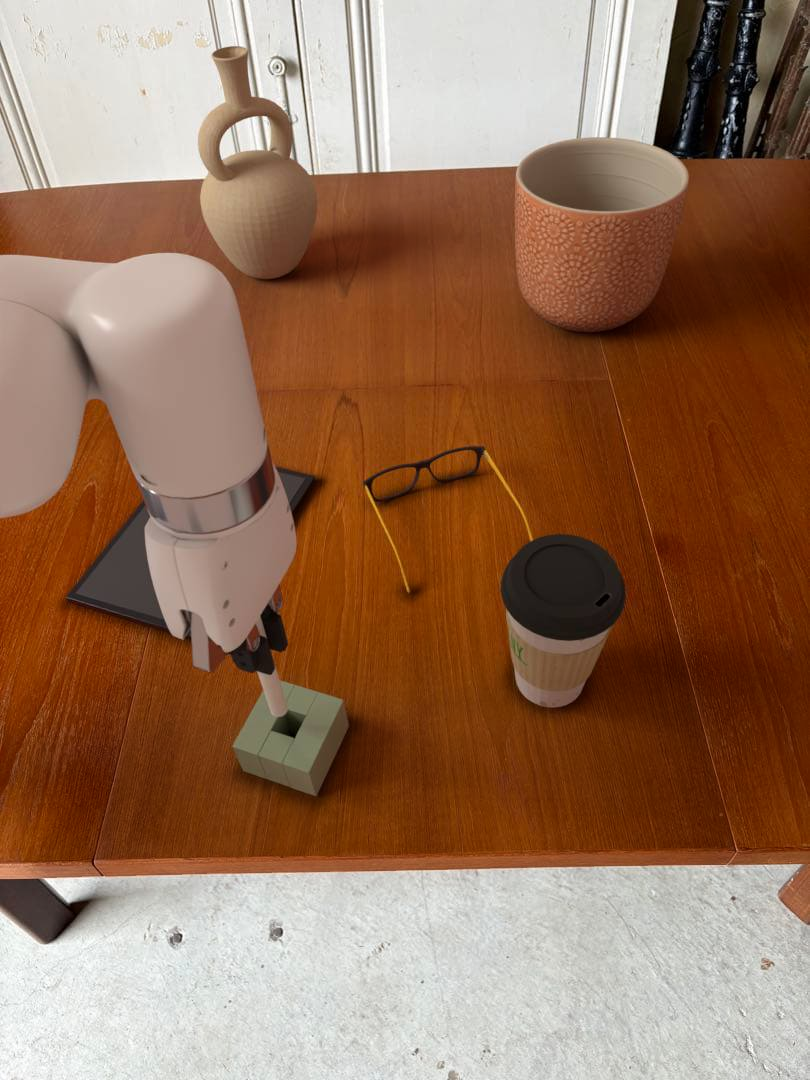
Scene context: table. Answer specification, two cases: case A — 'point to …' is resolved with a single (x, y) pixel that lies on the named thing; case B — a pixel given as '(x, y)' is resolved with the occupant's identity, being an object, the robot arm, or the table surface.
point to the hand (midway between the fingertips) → (261, 654)
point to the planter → (595, 229)
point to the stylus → (272, 685)
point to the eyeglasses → (426, 464)
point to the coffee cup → (559, 614)
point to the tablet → (146, 566)
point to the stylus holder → (287, 758)
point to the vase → (254, 181)
